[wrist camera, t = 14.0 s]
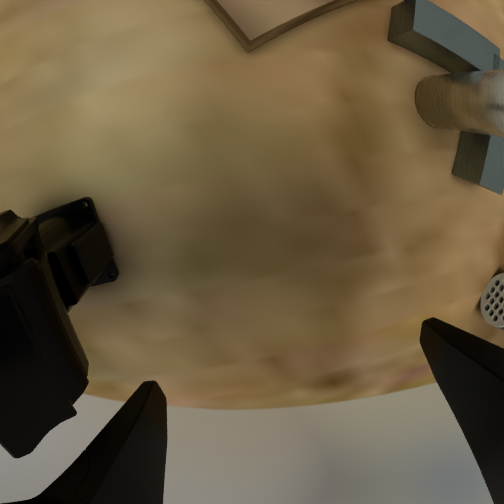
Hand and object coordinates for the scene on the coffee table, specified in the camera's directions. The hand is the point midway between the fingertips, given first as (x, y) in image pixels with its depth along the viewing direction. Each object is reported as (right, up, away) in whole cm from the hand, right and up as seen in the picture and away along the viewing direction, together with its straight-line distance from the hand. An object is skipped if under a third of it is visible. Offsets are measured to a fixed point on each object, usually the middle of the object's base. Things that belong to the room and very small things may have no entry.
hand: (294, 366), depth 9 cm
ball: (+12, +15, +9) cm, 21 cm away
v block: (+15, +16, +8) cm, 23 cm away
